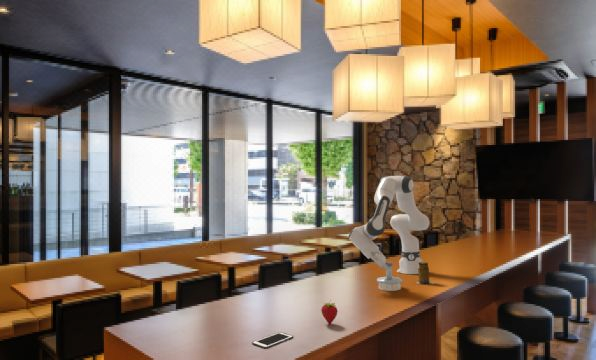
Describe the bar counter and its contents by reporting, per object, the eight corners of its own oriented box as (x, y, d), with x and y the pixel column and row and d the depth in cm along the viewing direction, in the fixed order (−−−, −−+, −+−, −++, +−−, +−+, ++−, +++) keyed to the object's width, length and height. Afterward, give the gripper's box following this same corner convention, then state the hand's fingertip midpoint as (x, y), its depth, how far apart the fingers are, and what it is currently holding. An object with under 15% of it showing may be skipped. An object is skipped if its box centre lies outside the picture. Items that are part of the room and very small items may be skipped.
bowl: (378, 285, 231) (378, 278, 231) (400, 286, 228) (400, 279, 228) (378, 290, 219) (378, 283, 219) (400, 291, 217) (400, 283, 217)
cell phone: (251, 345, 144) (251, 342, 145) (280, 334, 155) (280, 331, 155) (265, 350, 139) (265, 347, 139) (294, 338, 150) (294, 335, 150)
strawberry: (328, 320, 170) (327, 296, 170) (341, 324, 164) (340, 299, 164) (318, 323, 166) (317, 299, 166) (331, 327, 160) (330, 302, 160)
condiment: (422, 281, 239) (421, 261, 240) (435, 283, 233) (434, 262, 233) (415, 283, 235) (414, 262, 235) (428, 285, 228) (427, 264, 229)
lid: (376, 278, 232) (376, 261, 233) (401, 278, 229) (400, 261, 230) (376, 283, 219) (375, 265, 219) (402, 284, 216) (402, 265, 216)
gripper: (375, 249, 216) (394, 268, 214) (376, 245, 236) (393, 261, 234) (367, 258, 217) (386, 276, 214) (368, 252, 237) (386, 269, 234)
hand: (390, 268), depth 224 cm, fingers open, 8 cm apart
